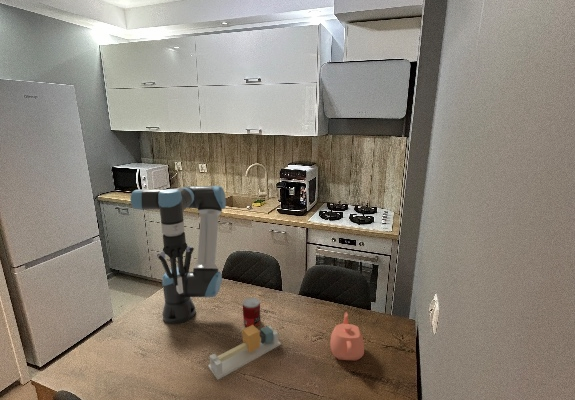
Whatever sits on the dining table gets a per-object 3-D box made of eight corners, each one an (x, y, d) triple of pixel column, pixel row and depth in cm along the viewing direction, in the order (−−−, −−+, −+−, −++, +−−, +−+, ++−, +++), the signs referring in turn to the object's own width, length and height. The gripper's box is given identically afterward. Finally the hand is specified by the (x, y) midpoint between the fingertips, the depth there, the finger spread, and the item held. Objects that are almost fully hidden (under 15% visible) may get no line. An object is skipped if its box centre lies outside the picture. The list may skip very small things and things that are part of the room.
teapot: (359, 335, 136) (361, 311, 133) (366, 371, 117) (368, 344, 114) (329, 334, 137) (329, 309, 134) (330, 369, 118) (331, 342, 115)
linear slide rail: (208, 366, 120) (206, 351, 118) (269, 334, 137) (269, 321, 135) (217, 380, 114) (216, 364, 112) (280, 344, 131) (280, 330, 129)
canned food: (257, 329, 141) (257, 307, 138) (241, 327, 143) (240, 305, 140) (262, 318, 148) (261, 298, 145) (246, 316, 150) (245, 296, 147)
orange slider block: (243, 346, 127) (242, 329, 125) (253, 340, 130) (252, 324, 128) (249, 352, 123) (248, 336, 121) (260, 347, 126) (259, 330, 124)
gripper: (158, 240, 104) (165, 302, 110) (195, 231, 112) (200, 290, 118) (151, 234, 110) (159, 293, 116) (187, 226, 118) (192, 282, 124)
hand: (179, 291), depth 117 cm, fingers closed
